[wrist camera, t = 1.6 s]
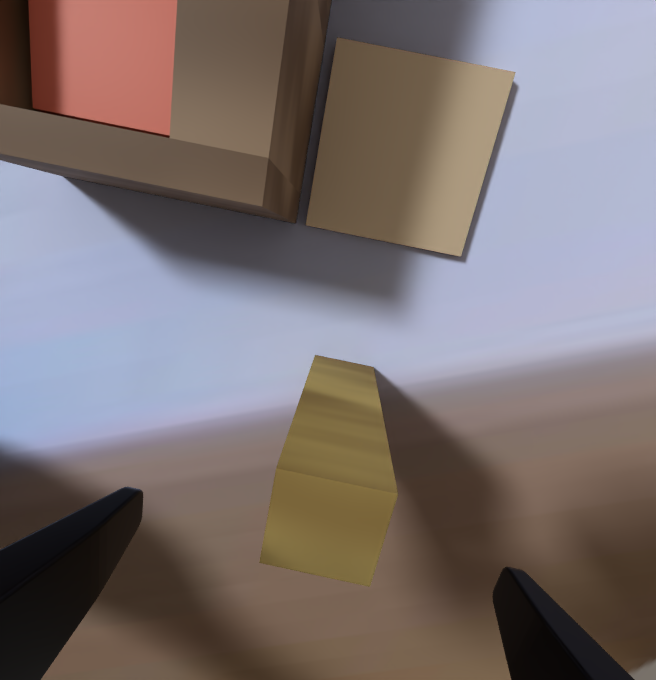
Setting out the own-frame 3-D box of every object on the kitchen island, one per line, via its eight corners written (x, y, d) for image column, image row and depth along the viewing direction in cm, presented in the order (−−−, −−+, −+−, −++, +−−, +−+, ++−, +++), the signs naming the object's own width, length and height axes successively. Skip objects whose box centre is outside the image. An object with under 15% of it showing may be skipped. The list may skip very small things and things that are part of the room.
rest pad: (458, 256, 15) (460, 256, 15) (306, 225, 15) (305, 225, 15) (510, 77, 13) (515, 72, 13) (337, 43, 13) (337, 37, 13)
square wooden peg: (360, 419, 17) (369, 586, 9) (304, 407, 17) (259, 562, 9) (373, 367, 17) (397, 494, 8) (315, 355, 17) (276, 468, 8)
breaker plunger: (211, 157, 12) (182, 138, 10) (86, 132, 12) (32, 107, 10) (225, 0, 11) (196, -59, 9) (86, -27, 11) (24, -92, 9)
